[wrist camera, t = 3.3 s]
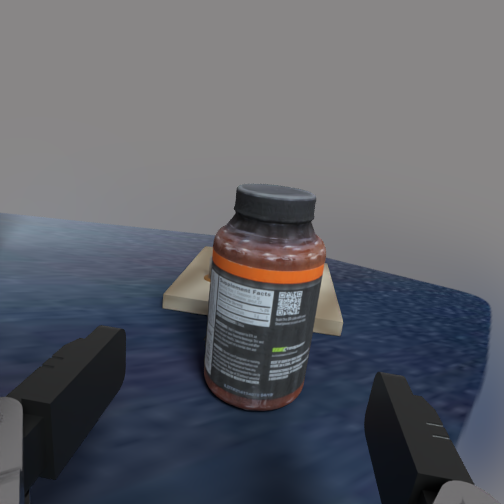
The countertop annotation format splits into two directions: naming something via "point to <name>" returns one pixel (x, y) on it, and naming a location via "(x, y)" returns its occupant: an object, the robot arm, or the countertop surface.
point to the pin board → (198, 286)
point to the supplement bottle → (263, 298)
